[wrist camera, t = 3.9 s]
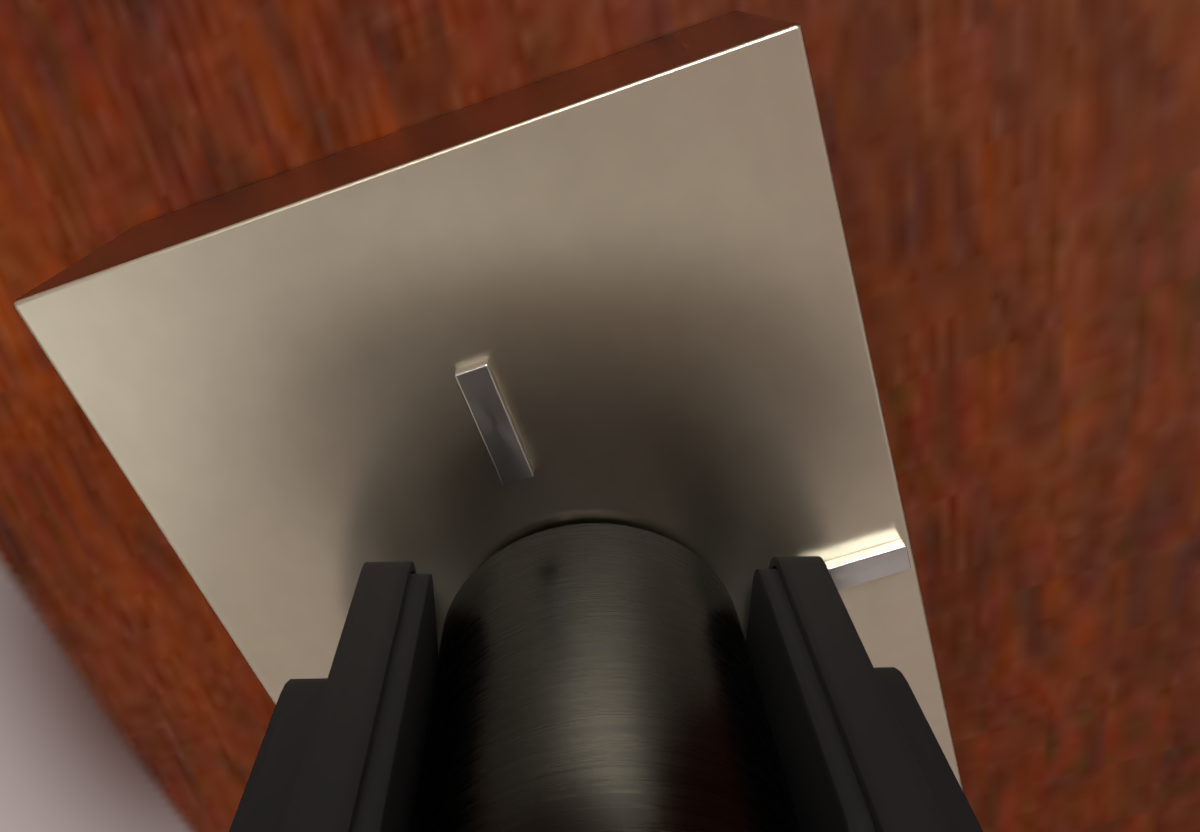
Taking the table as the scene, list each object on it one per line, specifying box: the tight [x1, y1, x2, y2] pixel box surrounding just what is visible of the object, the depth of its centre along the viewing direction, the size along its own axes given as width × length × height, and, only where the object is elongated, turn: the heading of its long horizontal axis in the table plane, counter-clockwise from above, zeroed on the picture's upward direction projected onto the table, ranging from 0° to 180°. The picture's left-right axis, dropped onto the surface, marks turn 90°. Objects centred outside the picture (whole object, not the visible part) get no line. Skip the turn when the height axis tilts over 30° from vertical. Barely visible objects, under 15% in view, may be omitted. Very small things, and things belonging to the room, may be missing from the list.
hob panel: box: [14, 11, 964, 793], centre depth 12 cm, size 12×8×3 cm, turn 18°
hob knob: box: [410, 523, 801, 832], centre depth 9 cm, size 4×4×5 cm
